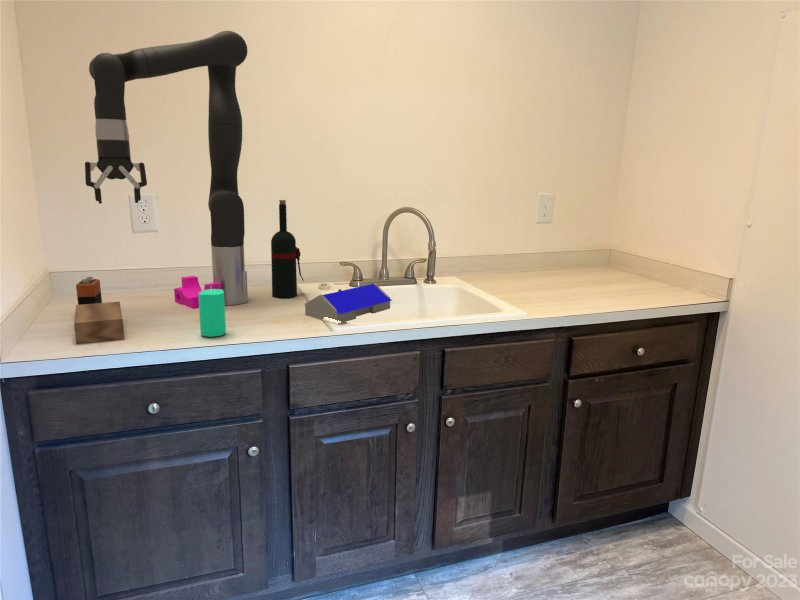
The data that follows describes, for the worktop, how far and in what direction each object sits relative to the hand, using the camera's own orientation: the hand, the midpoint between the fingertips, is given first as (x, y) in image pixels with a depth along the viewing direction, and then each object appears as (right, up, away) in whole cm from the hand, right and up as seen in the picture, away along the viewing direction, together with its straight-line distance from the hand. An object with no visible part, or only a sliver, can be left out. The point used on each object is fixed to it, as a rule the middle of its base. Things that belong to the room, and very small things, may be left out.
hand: (118, 203), depth 151 cm
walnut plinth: (-1, -33, -8) cm, 34 cm away
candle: (+27, -34, -7) cm, 44 cm away
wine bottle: (+38, -24, +32) cm, 55 cm away
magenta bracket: (+14, -27, +19) cm, 36 cm away
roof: (+59, -29, +16) cm, 67 cm away
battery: (-11, -29, +7) cm, 32 cm away
